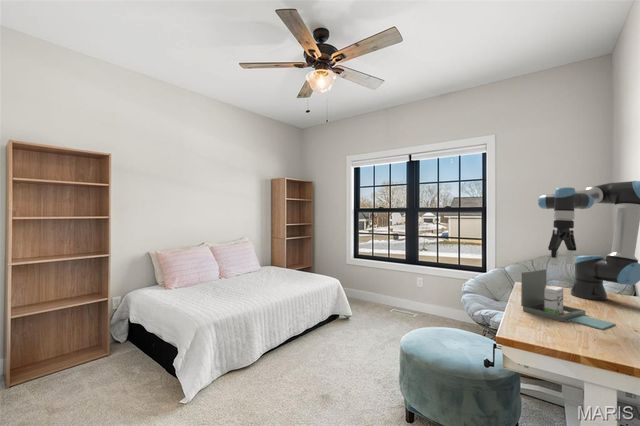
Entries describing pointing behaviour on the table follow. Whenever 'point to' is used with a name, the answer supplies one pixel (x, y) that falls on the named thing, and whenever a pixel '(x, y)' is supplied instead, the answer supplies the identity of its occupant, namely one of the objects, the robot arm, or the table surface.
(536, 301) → the case
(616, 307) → the table surface
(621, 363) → the table surface
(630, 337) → the table surface
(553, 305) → the ink box
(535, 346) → the table surface
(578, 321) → the mat
